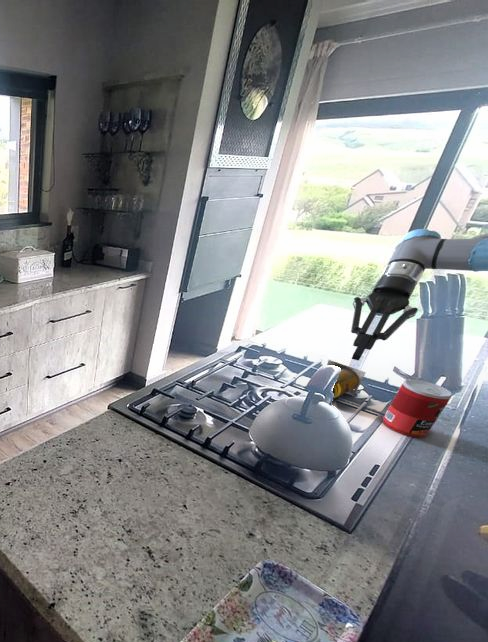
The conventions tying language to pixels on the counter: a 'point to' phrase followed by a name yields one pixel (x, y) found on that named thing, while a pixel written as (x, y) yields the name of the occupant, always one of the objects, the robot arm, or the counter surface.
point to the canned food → (416, 407)
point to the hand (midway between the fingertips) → (356, 357)
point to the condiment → (347, 379)
